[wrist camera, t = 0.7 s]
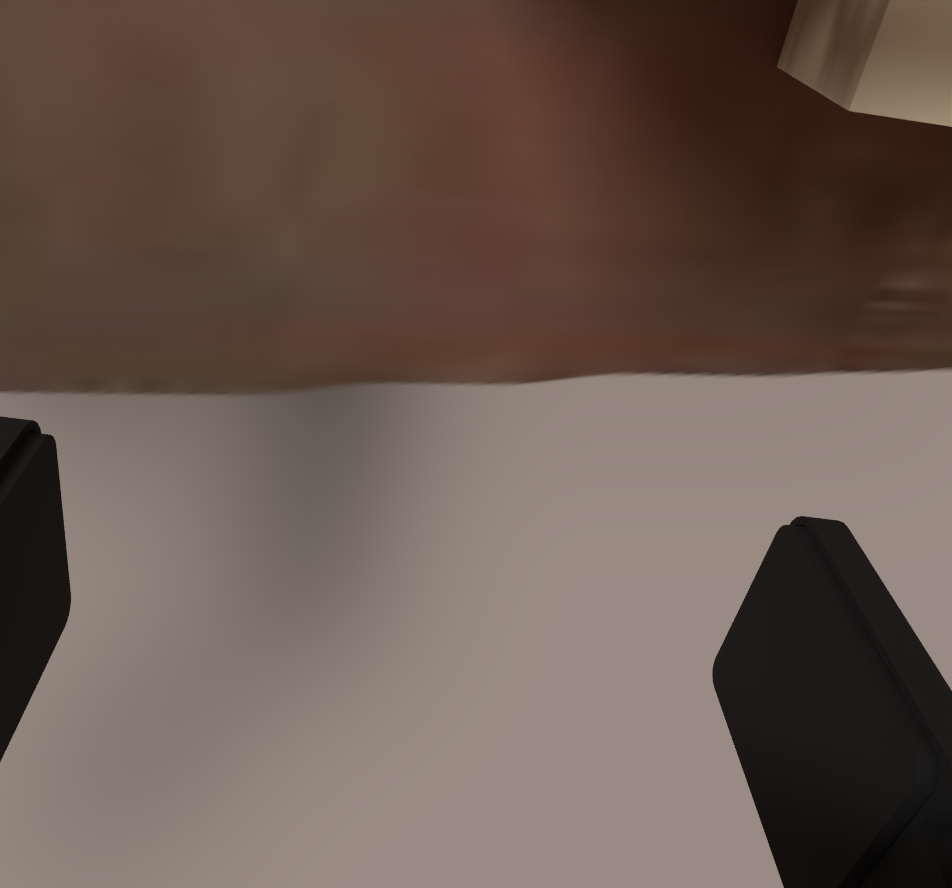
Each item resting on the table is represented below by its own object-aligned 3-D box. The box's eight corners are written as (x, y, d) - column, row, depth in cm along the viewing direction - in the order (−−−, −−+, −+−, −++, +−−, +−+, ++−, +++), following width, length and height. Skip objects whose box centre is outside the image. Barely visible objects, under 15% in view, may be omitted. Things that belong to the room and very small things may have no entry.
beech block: (823, -82, 31) (914, -67, 25) (952, -59, 31) (1070, -39, 26) (776, 66, 34) (848, 110, 28) (895, 85, 34) (989, 132, 28)
